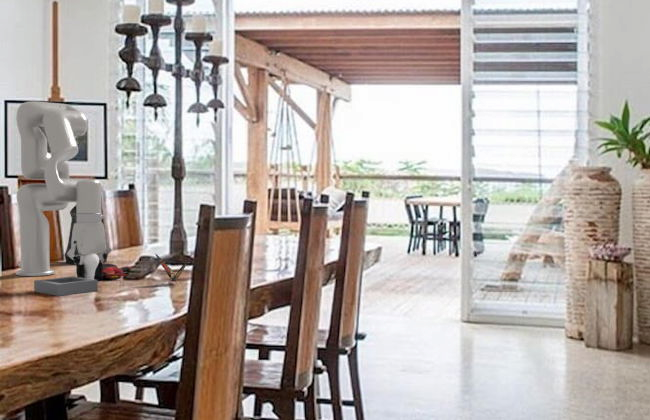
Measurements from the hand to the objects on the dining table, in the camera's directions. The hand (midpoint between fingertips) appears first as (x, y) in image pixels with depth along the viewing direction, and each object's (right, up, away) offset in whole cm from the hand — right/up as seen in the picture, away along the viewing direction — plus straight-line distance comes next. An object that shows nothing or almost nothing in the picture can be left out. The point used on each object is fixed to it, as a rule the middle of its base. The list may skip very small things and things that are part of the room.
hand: (89, 275), depth 239 cm
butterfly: (+26, -3, +2) cm, 26 cm away
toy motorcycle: (+1, -3, +20) cm, 20 cm away
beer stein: (-22, 0, +65) cm, 68 cm away
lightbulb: (0, -3, 0) cm, 3 cm away
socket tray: (-3, -4, -13) cm, 14 cm away
